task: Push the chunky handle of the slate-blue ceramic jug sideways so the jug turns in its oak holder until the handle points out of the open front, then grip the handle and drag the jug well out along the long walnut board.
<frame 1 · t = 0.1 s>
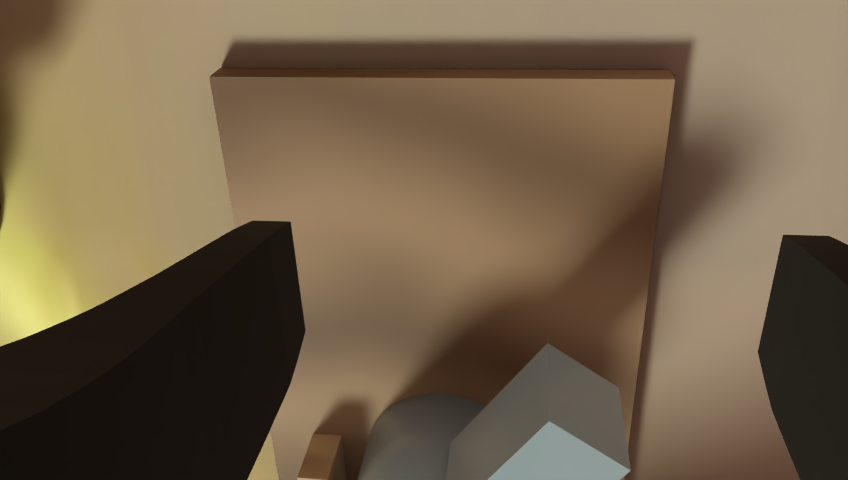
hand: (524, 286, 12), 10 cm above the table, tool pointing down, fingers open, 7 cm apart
cradle: (446, 436, 27), on the table
jug: (443, 453, 26), point 1 cm above the table, touching cradle
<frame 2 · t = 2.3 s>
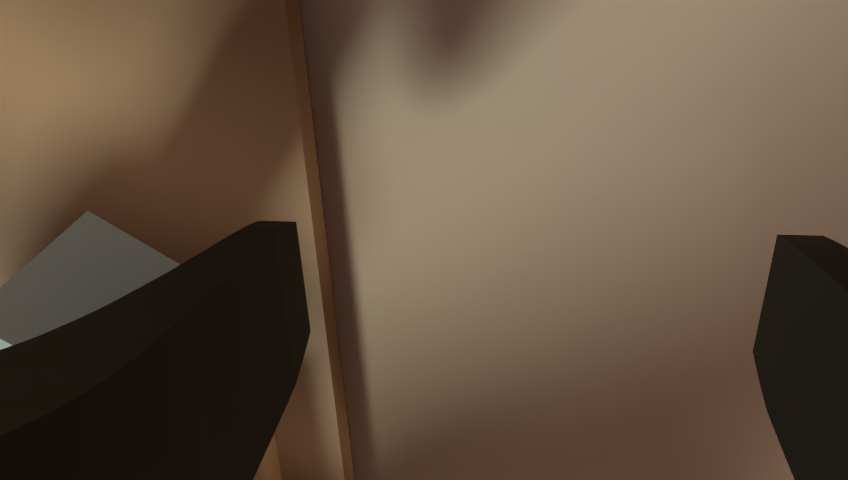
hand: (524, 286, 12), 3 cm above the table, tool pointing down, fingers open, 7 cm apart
cradle: (102, 392, 18), on the table
jug: (85, 415, 18), point 1 cm above the table, touching cradle, gripper
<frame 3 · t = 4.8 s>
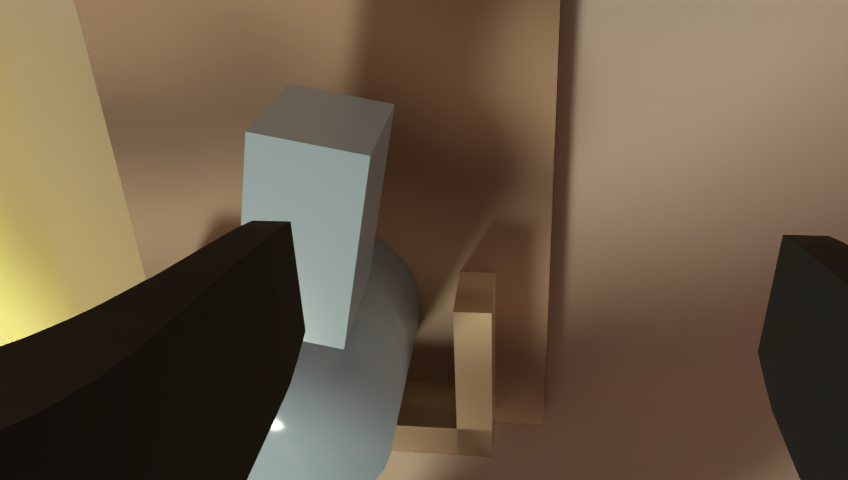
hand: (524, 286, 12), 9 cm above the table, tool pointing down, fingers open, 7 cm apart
cradle: (346, 269, 23), on the table
jug: (333, 300, 23), point 1 cm above the table, touching cradle
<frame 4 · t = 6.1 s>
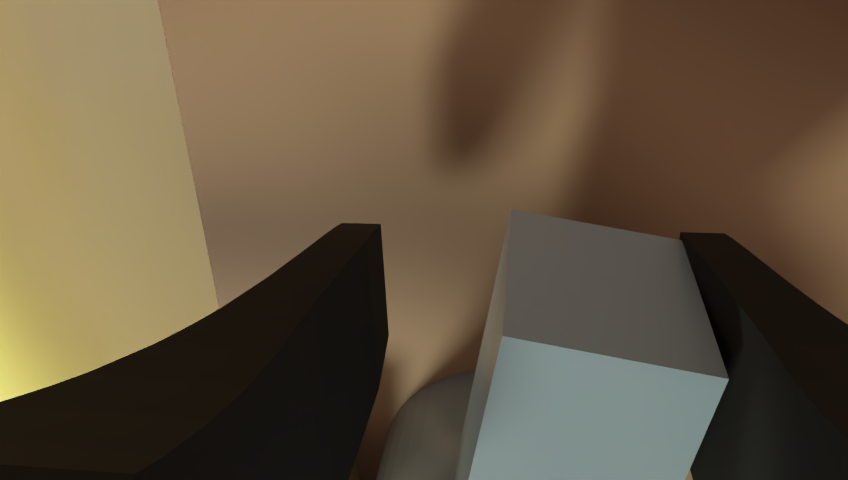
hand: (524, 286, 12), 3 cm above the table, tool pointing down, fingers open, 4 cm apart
cradle: (520, 418, 17), on the table
jug: (504, 465, 16), point 1 cm above the table, touching cradle, gripper
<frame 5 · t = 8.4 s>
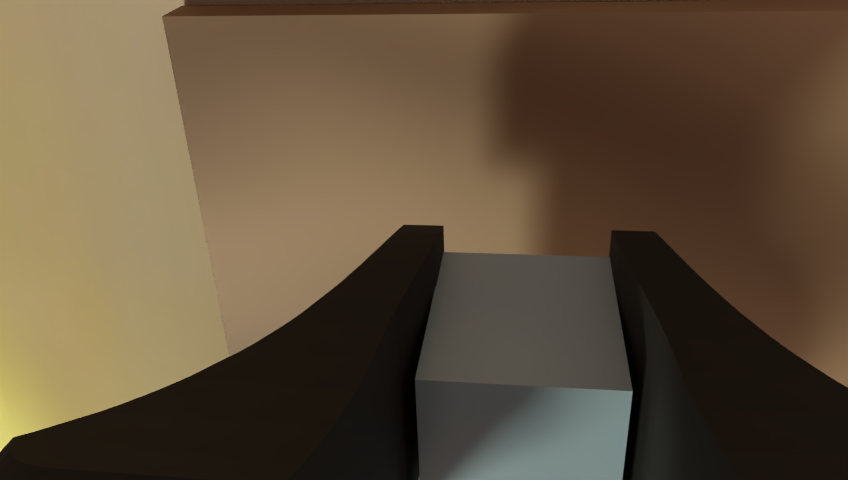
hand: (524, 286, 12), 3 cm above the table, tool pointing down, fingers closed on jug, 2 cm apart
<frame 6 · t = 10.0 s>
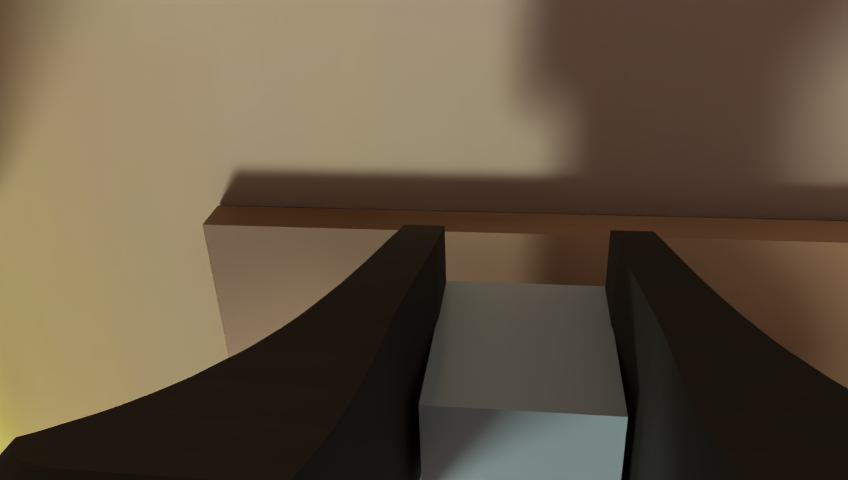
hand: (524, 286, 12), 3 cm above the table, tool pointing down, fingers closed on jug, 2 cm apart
when the fingers open (3 cm above the table, at t = 10.6 s): jug stays where it is, resting on cradle.
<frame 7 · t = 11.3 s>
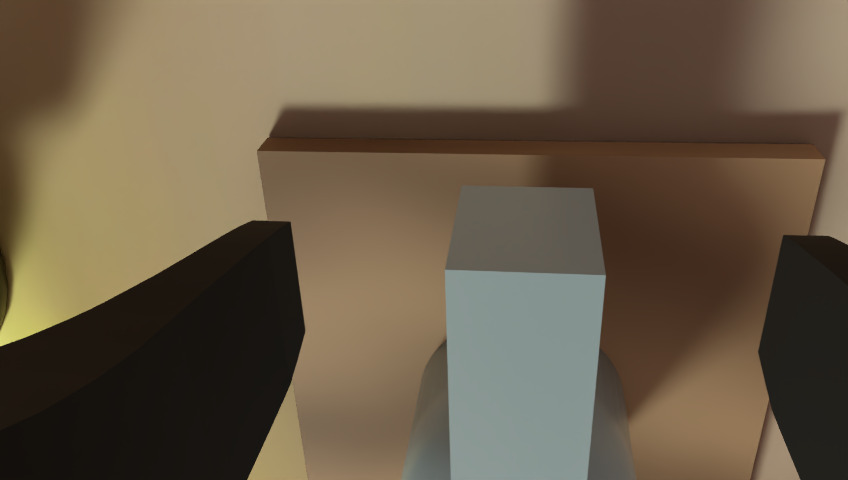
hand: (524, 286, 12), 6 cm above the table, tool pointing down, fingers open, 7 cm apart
jug: (520, 400, 20), point 1 cm above the table, touching cradle
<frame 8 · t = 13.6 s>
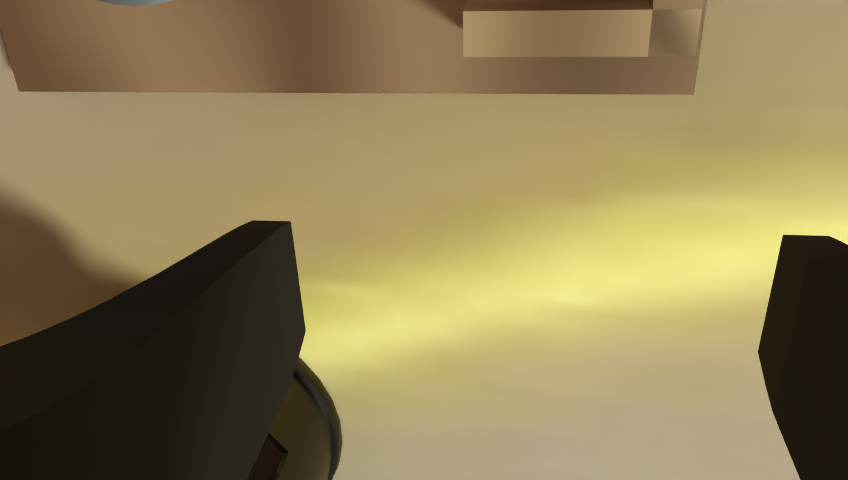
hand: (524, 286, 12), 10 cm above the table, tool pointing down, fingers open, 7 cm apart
french press: (210, 407, 28), on the table
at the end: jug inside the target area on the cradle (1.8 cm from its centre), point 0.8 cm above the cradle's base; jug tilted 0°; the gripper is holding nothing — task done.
